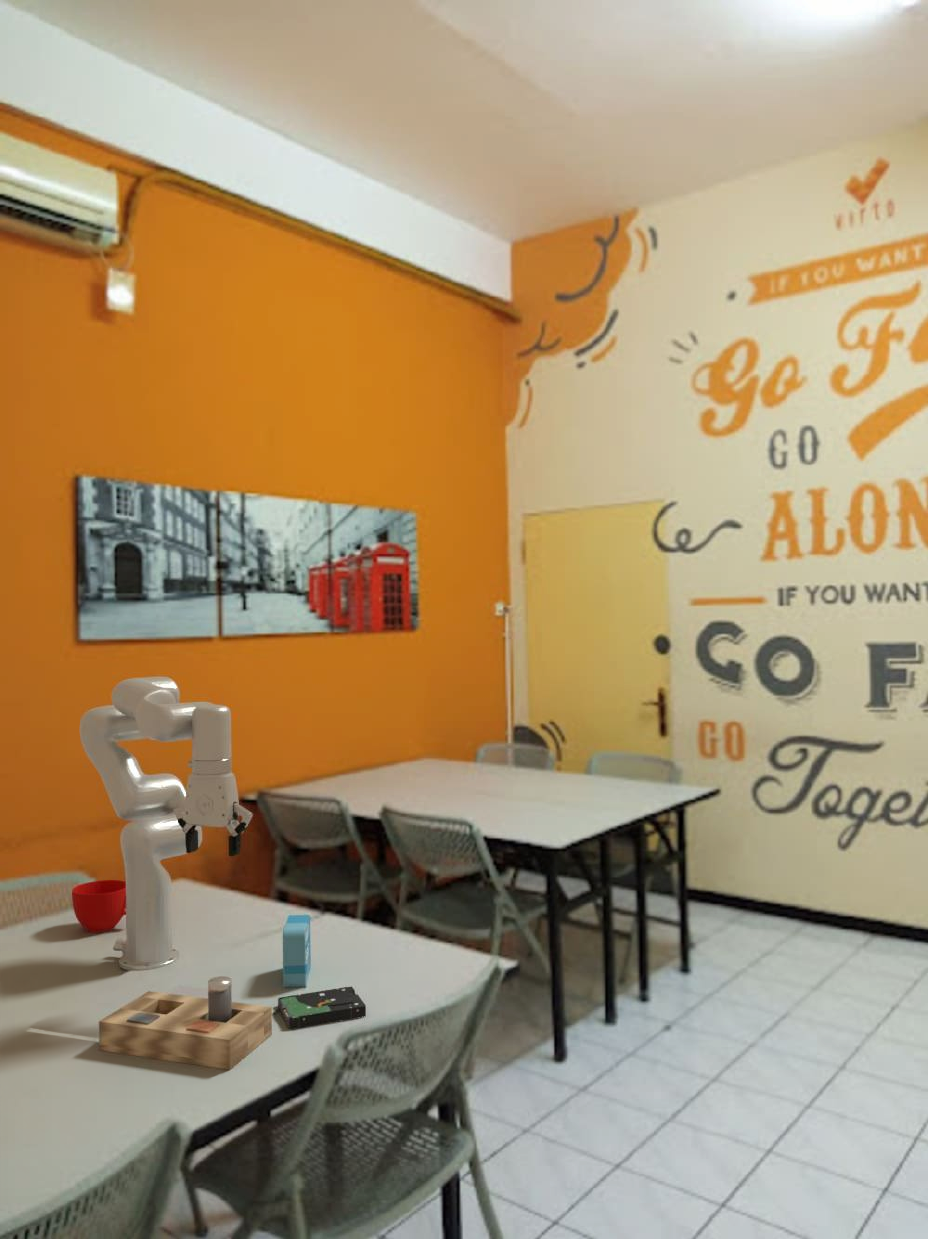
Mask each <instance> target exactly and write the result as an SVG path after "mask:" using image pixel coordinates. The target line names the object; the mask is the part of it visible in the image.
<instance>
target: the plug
mask: <svg viewBox="0 0 928 1239" xmlns="http://www.w3.org/2000/svg"><path fill="white" fill-rule="evenodd" d="M207 989H208V1020H209V1021H216V1022H224V1023H226V1022H228V1021H229V1020H230V1019H232V1002H233V1001H232V978H231V977H230V976H223V975H221V976H215V977H212V978H209V979H208V981H207Z"/></svg>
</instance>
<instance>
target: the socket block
mask: <svg viewBox="0 0 928 1239" xmlns="http://www.w3.org/2000/svg"><path fill="white" fill-rule="evenodd" d="M272 1019H273V1017H272V1006H267V1005H259V1004H252V1003H243V1002H236V1001H232V1019H230V1020H229V1021H228V1022H226V1023H224V1022H216V1021H209V1020H208V999H206V998H198V997H190V996H183V995H175V994H167V992H159V991H151V990H147V992H145V993H143V994H142V995H140V996H138V997H137V998H135V999H134V1000H132V1001H130V1002H129V1003H127V1004H125V1005H124V1006H122V1007H120V1008H119V1009H117V1010H115V1011H114V1012H111V1013H110V1014H109V1015H107V1016H105V1017H103V1018H102V1019H100V1020H98V1037H99V1038H98V1045H99V1047H98V1050H99V1051H104V1052H110V1053H117V1054H123V1055H130V1056H137V1057H143V1058H150V1059H155V1060H162V1061H169V1062H176V1063H183V1064H190V1065H194V1066H201V1067H208V1068H214V1069H219V1070H227V1071H231V1070H232V1069H233V1068H234V1067H235V1066H237V1065H238V1064H239V1063H240V1062H242V1061H243V1060H244V1059H245V1058H246V1057H247V1056H249V1055H250V1053H252V1052H253V1051H254V1050H256V1049H257V1048H258V1047H259V1046H260V1045H261V1044H263V1043H264V1042H265V1041H266V1040H267V1039H269V1038H270V1037H271V1036H272V1035H273V1033H272V1032H273V1028H272V1027H273V1026H272V1023H273V1022H272V1021H273V1020H272Z"/></svg>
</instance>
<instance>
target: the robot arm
mask: <svg viewBox="0 0 928 1239" xmlns="http://www.w3.org/2000/svg"><path fill="white" fill-rule="evenodd" d="M180 698H181V693H180V688H179V686H178V684H177V683H176V681H175V680H173V679H172V678H170V677H167V676H147V677H146V676H144V677H131V678H127V679H124V680H121V681H119V682H118V683H117V684H116V685H115V686H114V688H113V690H112V692H111V698H110V699H111V703H112V704H111V705H102V706H98V707H94V708H91V709H89V710H88V711H85V713H84V714H83V715H82V717H81V719H80V722H79V737H80V742H81V745H82V747H83V750H84V752H85V755H86V756H87V758H88V759H89V761H90V762H91V763H92V765H93V766H94V768H95V769H96V771H97V772H98V774H99V776H100V778H101V780H102V784H103V786H104V788H105V791H106V793H107V796H108V798H109V800H110V803H111V805H112V808H113V810H114V811H115V814H116V815H117V817H118V818H120V819H121V820H123V821H130V822H128V823H127V824H125V826H124V827H123V828H122V830H121V832H120V837H119V840H120V841H119V842H120V849H121V853H122V858H123V865H124V874H125V875H124V876H125V882H126V910H125V911H126V915H125V919H126V921H125V925H126V926H125V927H126V929H125V930H126V931H125V932H126V933H125V934H126V938H116V940H115V942H114V945H113V947H112V950H113V951H118V952H120V951H121V953H122V956H121V957H120V958H119V959H118V965H119V967H120V968H121V969H123V970H125V971H129V972H130V971H132V970H133V971H147V970H148V971H149V970H155V969H160V968H164V967H166V966H170V965H172V964H174V963H176V962H177V961H178V960H180V958H181V957H180V956H181V954H180V951H179V950H177V949H176V948H173V898H172V894H173V892H172V878H171V876H170V874H169V872H168V870H166V868H165V867H164V866H163V865H162V863H161V861H162V860H165V859H170V858H173V857H179V856H183V855H187V854H191V853H194V852H196V851H198V850H199V848H200V847H201V844H202V842H203V830H202V827H211V828H212V827H213V828H223V827H225V828H226V829H227V831H228V832H229V833H230V835H229V836H228V856H229V857H235V856H237V855H240V854H241V850H242V834H243V833H244V831H245V830H246V829H247V828H248V827H249V823H250V821H251V820H252V818H253V816H254V814H253V812H251V811H250V810H248V809H246V808H245V807H244V806H242V805H240V804H239V800H240V799H239V792H238V786H237V780H236V776H235V773H233V771H232V768H233V767H232V765H233V764H232V712H231V710H230V708H229V707H228V706H226V705H223V704H214V703H212V702H209V701H195V702H180ZM143 739H149V740H153V741H156V742H160V743H161V742H162V743H169V742H170V743H171V742H177V741H185V740H186V741H187V740H192V741H191V742H192V760H189V761H188V762H187V767H188V768H191V770H192V773H191V774H189V775H188V778H187V783H186V787H185V786H184V783H183V782H182V780H181V779H180V778H179V777H178V776H176V775H174V774H173V773H163V772H162V773H156V774H155V773H154V774H145V773H144V772H143V771H142V768H141V767H140V764H139V761H138V759H137V758H136V757H135V755H133V754H132V753H131V752H130V751H129V750H127V749H126V748H125V747H123V746H121V745H120V744H118V742H124V741H125V742H127V741H136V740H143ZM239 817H241V822H239Z"/></svg>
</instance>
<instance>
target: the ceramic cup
mask: <svg viewBox="0 0 928 1239" xmlns="http://www.w3.org/2000/svg"><path fill="white" fill-rule="evenodd" d="M71 899H72V900H71V902H72V907H73V912H74V915H75V917H76V919H77V921H78V923H79V924H80V925H81V926H82V927H83V928H84V929H85V930H86V932H89V931H90V932H89V933H103V932H102V931H104V932H107V931H106V930H108V931H110V930H113V929H115V928H116V926H118V924H119V923H120V922H121V920H122V918H124V916H126V880H120V879H118V880H117V879H103V880H94V881H89V882H84V883H82V884H79V885H76V886H74V887H73V889H72V890H71Z"/></svg>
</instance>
